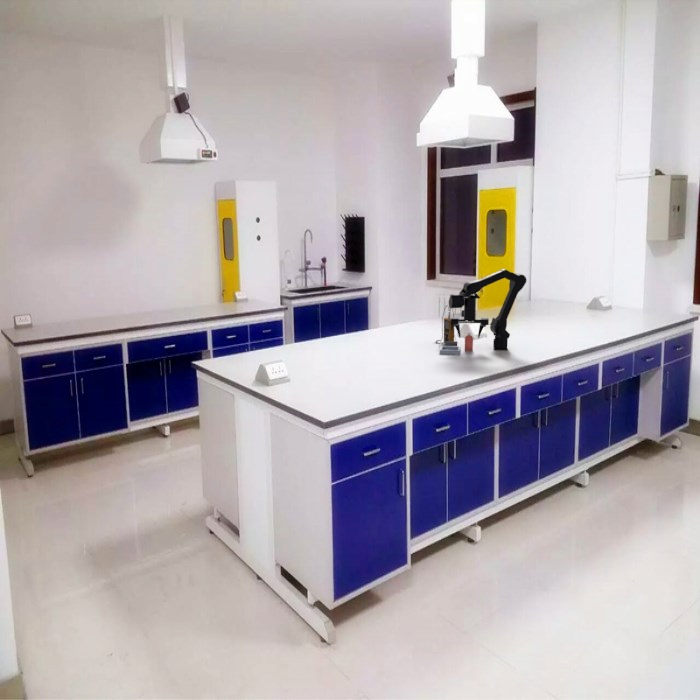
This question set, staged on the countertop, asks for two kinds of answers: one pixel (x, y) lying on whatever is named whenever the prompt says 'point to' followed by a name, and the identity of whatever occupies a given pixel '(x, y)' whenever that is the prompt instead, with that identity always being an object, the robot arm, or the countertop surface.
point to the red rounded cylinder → (468, 343)
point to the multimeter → (448, 329)
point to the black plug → (450, 343)
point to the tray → (450, 350)
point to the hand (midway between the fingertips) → (469, 338)
